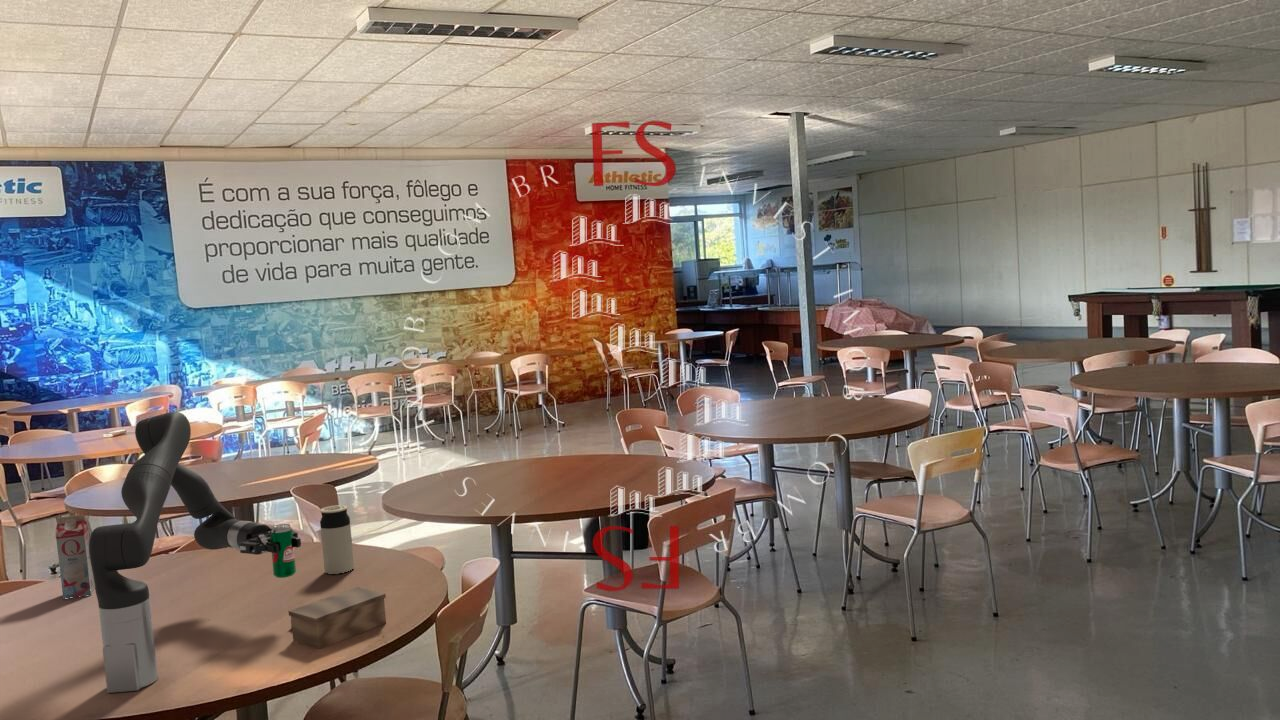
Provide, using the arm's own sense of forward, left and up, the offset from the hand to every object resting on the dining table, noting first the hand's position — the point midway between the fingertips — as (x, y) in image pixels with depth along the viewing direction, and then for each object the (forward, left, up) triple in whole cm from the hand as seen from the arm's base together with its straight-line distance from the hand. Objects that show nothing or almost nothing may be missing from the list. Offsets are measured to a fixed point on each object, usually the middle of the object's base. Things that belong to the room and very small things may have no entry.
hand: (288, 545), depth 228 cm
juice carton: (+39, +70, -19) cm, 82 cm away
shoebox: (-9, -13, -19) cm, 24 cm away
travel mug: (+42, 0, -19) cm, 46 cm away
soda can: (+2, +2, -8) cm, 8 cm away
